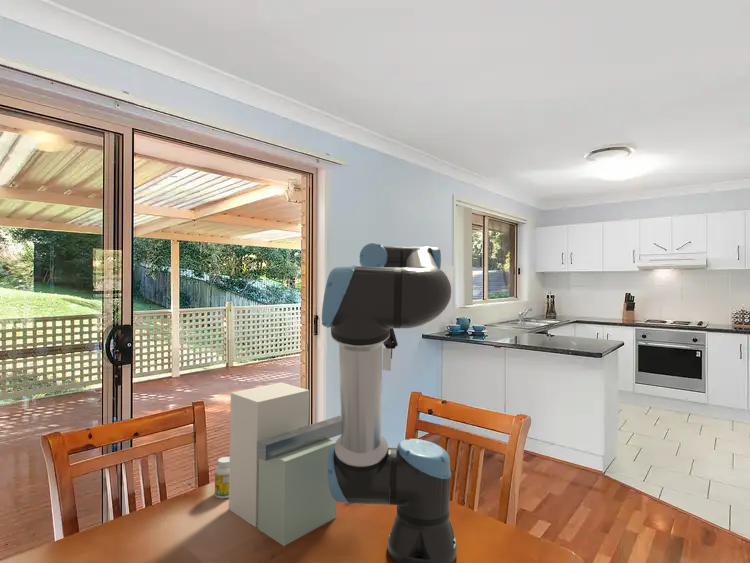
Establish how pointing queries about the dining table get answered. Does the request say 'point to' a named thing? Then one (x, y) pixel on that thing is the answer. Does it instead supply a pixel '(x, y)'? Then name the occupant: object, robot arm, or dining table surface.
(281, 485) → the two-step stand
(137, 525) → the dining table surface
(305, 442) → the steel block
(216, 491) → the supplement bottle
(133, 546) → the dining table surface
